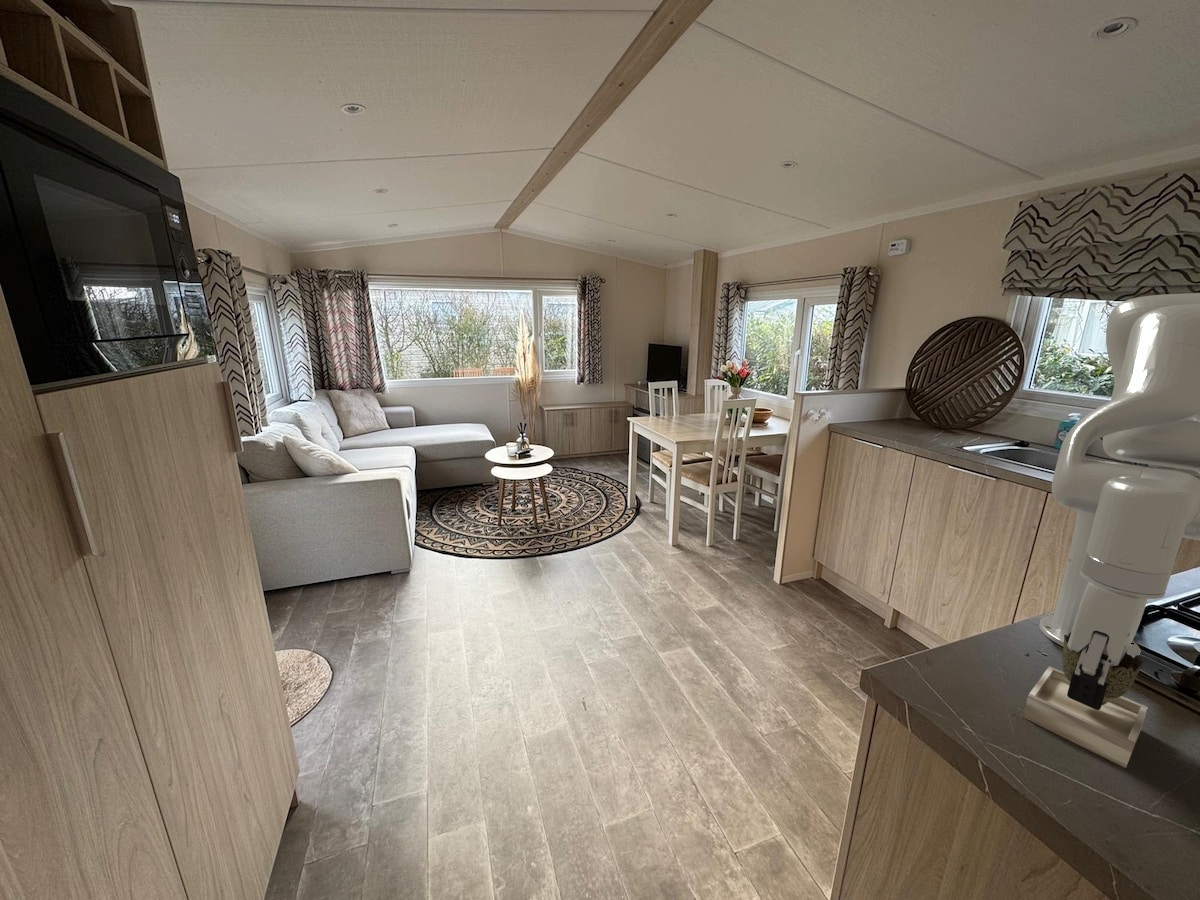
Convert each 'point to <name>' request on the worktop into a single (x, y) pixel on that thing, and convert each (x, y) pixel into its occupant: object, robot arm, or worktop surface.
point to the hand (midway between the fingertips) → (1090, 690)
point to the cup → (1117, 675)
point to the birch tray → (1086, 718)
